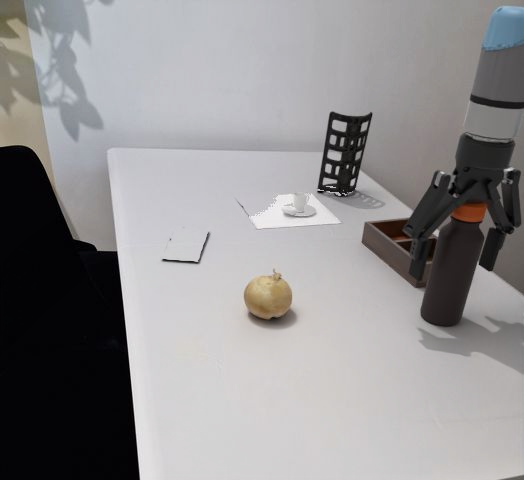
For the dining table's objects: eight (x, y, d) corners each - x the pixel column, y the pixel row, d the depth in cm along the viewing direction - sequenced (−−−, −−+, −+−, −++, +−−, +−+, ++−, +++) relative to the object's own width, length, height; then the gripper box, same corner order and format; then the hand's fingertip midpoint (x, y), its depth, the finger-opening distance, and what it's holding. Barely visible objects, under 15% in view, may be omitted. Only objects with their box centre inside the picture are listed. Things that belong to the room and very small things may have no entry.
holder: (347, 183, 150) (362, 105, 137) (363, 195, 145) (380, 116, 132) (312, 188, 146) (324, 108, 133) (327, 201, 141) (341, 119, 128)
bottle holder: (404, 237, 123) (409, 217, 121) (463, 280, 107) (469, 258, 105) (361, 242, 120) (364, 221, 117) (415, 287, 104) (420, 265, 101)
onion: (287, 328, 90) (291, 289, 86) (238, 321, 91) (240, 282, 87) (293, 303, 97) (297, 266, 93) (247, 298, 98) (249, 260, 94)
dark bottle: (461, 311, 98) (493, 198, 86) (459, 330, 92) (494, 213, 81) (421, 303, 99) (448, 191, 88) (417, 322, 94) (446, 205, 83)
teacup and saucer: (284, 219, 128) (286, 201, 126) (274, 206, 134) (275, 189, 132) (320, 216, 130) (322, 199, 128) (308, 204, 137) (310, 187, 134)
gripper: (539, 126, 86) (497, 254, 98) (397, 131, 78) (371, 270, 90) (577, 139, 80) (528, 274, 92) (428, 146, 72) (396, 292, 84)
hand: (450, 272), depth 91 cm, fingers open, 13 cm apart
